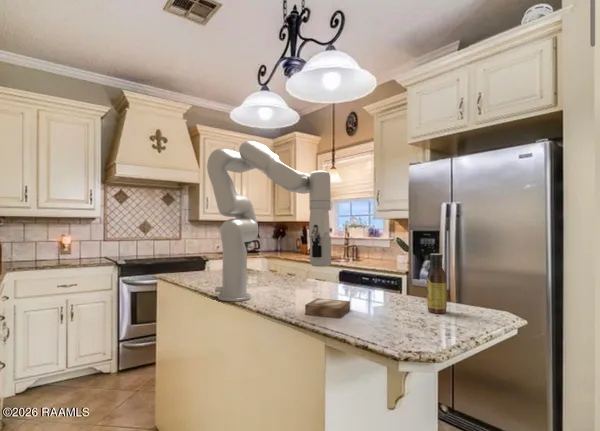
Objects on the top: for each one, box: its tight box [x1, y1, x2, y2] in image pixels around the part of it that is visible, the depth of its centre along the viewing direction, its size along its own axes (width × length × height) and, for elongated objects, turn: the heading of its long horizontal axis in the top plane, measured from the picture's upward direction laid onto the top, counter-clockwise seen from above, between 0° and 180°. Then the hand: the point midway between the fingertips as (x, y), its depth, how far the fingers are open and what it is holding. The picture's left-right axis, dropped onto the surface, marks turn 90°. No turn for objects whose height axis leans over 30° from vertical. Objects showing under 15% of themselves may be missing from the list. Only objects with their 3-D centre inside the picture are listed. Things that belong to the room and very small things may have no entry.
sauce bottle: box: [426, 253, 448, 314], centre depth 126 cm, size 7×6×20 cm
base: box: [304, 297, 351, 318], centre depth 125 cm, size 12×12×3 cm
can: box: [309, 232, 332, 268], centre depth 130 cm, size 8×8×12 cm
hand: (320, 256), depth 130 cm, fingers closed on can, 7 cm apart
